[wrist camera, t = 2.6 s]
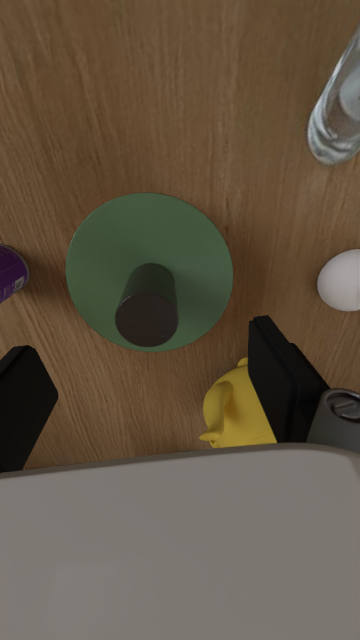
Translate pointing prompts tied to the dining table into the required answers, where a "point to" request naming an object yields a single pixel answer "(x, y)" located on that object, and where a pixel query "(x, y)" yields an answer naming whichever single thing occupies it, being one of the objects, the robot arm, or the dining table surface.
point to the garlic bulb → (341, 281)
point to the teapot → (235, 411)
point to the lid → (149, 272)
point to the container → (11, 272)
